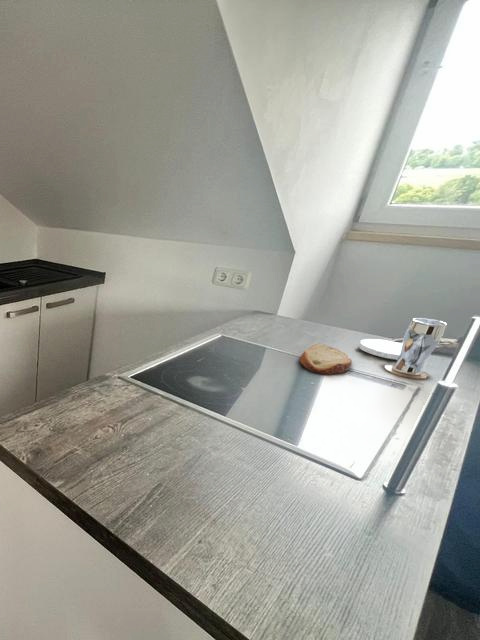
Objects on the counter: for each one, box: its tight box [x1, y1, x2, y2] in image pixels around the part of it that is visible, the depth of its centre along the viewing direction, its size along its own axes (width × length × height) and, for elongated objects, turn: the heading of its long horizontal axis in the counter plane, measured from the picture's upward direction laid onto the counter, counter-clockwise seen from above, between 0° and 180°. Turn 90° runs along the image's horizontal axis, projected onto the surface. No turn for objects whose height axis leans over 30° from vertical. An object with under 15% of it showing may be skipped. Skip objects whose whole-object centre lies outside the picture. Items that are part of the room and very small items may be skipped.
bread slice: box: [299, 343, 352, 376], centre depth 118 cm, size 18×18×4 cm
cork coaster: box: [383, 363, 429, 380], centre depth 112 cm, size 9×9×1 cm
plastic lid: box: [358, 338, 402, 361], centre depth 123 cm, size 14×14×2 cm
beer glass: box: [392, 317, 448, 375], centre depth 108 cm, size 7×7×15 cm
